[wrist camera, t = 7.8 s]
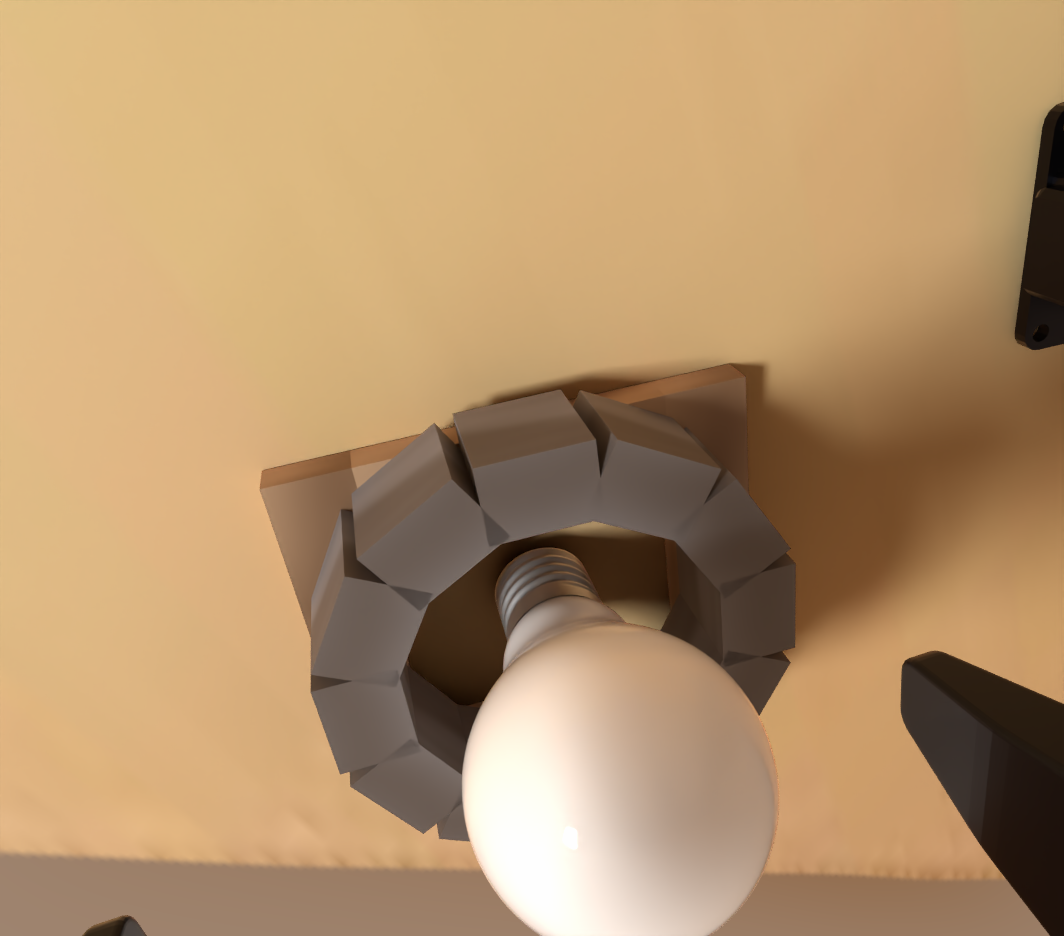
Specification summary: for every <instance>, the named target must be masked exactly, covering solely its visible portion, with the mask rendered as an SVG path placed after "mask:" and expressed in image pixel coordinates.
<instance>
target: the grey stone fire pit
mask: <svg viewBox="0 0 1064 936" xmlns="http://www.w3.org/2000/svg"><path fill="white" fill-rule="evenodd" d="M453 418H454V422H455V427H451V428H446V429H442V430H441V429H440V428H439V427H438V426H437V425H436V424H435V423H434V424H433V425H431V426H430V427H429V428H428V429H427V430H425V431H424V432H423V433H422V434H420V435H416V436H412V437H407V438H403V439H398V440H394V441H390V442H385V443H381V444H377V445H372V446H368V447H364V448H359V449H355V450H350V451H346V452H342V453H337V454H333V455H329V456H324V457H320V458H316V459H311V460H307V461H303V462H298V463H294V464H289V465H285V466H281V467H276V468H272V469H268V470H263V471H262V475H261V483H260V492H261V495H262V498H263V500H264V503H265V506H266V509H267V512H268V515H269V518H270V521H271V524H272V527H273V529H274V532H275V535H276V538H277V541H278V544H279V547H280V550H281V553H282V555H283V558H284V561H285V564H286V567H287V570H288V573H289V576H290V579H291V582H292V584H293V587H294V590H295V593H296V596H297V599H298V602H299V605H300V608H301V610H302V613H303V616H304V619H305V622H306V625H307V628H308V631H309V634H310V637H311V694H312V697H313V700H314V703H315V705H316V708H317V711H318V714H319V716H320V719H321V722H322V725H323V728H324V730H325V733H326V736H327V739H328V741H329V744H330V747H331V750H332V753H333V755H334V758H335V761H336V764H337V766H338V769H339V772H340V774H344V773H347V772H350V787H352V788H354V789H355V790H357V791H358V792H360V793H361V794H363V795H364V796H366V797H367V798H369V799H371V800H372V801H374V802H375V803H377V804H378V805H380V806H381V807H383V808H384V809H386V810H388V811H389V812H391V813H392V814H394V815H395V816H397V817H398V818H400V819H401V820H403V821H405V822H406V823H408V824H409V825H411V826H412V827H414V828H415V829H417V830H418V831H420V832H422V833H423V834H424V833H425V832H426V831H428V830H429V829H430V828H432V827H433V826H434V825H435V824H437V827H438V834H439V839H448V840H460V841H470V839H469V836H468V832H467V828H466V824H465V819H464V812H463V804H462V770H463V761H464V755H465V750H466V745H467V741H468V738H469V734H470V731H471V728H472V725H473V723H474V720H475V718H476V716H477V713H478V711H479V709H480V707H481V705H482V703H483V702H479V703H475V704H472V705H468V706H465V705H458V704H456V703H455V702H454V701H452V700H451V699H450V698H448V697H447V696H446V695H445V694H443V693H442V692H441V691H439V690H438V689H437V688H436V687H434V686H433V685H432V684H430V683H429V682H428V681H427V680H425V679H424V678H423V677H421V676H420V675H419V674H418V673H416V672H415V671H414V670H412V669H411V667H410V663H409V660H408V655H409V653H410V650H411V648H412V645H413V642H414V640H415V637H416V635H417V632H418V630H419V627H420V624H421V622H422V619H423V617H424V614H425V612H426V609H427V606H428V604H429V603H430V602H431V601H432V600H434V599H435V598H436V597H437V596H438V595H440V594H441V593H442V592H443V591H445V590H446V589H447V588H448V587H449V586H451V585H452V584H453V583H454V582H456V581H457V580H458V579H459V578H460V577H462V576H463V575H464V574H465V573H466V572H468V571H469V570H470V569H471V568H473V567H474V566H475V565H476V564H477V563H479V562H480V561H481V560H482V559H484V558H485V557H486V556H487V555H488V554H490V553H491V552H492V551H493V550H495V549H496V548H497V547H498V546H499V545H501V544H504V543H508V542H512V541H516V540H520V539H524V538H528V537H532V536H536V535H540V534H544V533H548V532H552V531H556V530H560V529H564V528H568V527H572V526H576V525H580V524H584V523H588V522H592V521H595V522H600V523H604V524H608V525H612V526H616V527H620V528H624V529H629V530H633V531H637V532H641V533H645V534H649V535H653V536H658V537H662V538H664V541H665V553H666V565H667V577H668V589H669V602H670V613H669V615H668V617H667V619H666V621H665V623H664V625H663V627H662V629H661V631H663V632H666V633H668V634H671V635H673V636H676V637H678V638H680V639H682V640H684V641H686V642H688V643H690V644H691V645H693V646H695V647H696V648H698V649H699V650H701V651H703V652H704V653H705V654H707V655H708V656H709V657H711V658H712V659H713V660H714V661H716V662H717V663H718V664H719V665H720V666H721V667H722V668H723V669H725V670H726V671H727V672H728V673H729V674H730V676H731V677H732V678H733V679H734V680H735V681H736V682H737V683H738V685H739V686H740V687H741V689H742V690H743V691H744V692H745V694H746V695H747V697H748V698H749V700H750V701H751V703H752V705H753V706H754V708H755V710H756V711H757V713H758V715H760V714H761V712H762V710H763V708H764V707H765V705H766V703H767V702H768V700H769V698H770V697H771V695H772V693H773V691H774V690H775V688H776V686H777V685H778V683H779V681H780V680H781V678H782V676H783V674H784V673H785V671H786V669H787V668H788V666H789V664H790V661H789V660H788V659H787V657H786V656H785V655H784V653H783V652H782V651H784V650H787V649H791V648H795V577H796V563H795V562H794V561H793V560H792V559H791V558H790V557H789V556H788V555H787V554H786V552H787V551H788V550H790V549H791V548H790V547H789V546H788V544H787V543H786V542H785V541H784V539H783V538H782V537H781V535H780V534H779V533H778V532H777V530H776V529H775V528H774V526H773V525H772V524H771V523H770V521H769V520H768V519H767V517H766V516H765V515H764V514H763V512H762V511H761V510H760V508H759V507H758V506H757V505H756V503H755V502H754V501H753V499H752V498H751V497H750V496H749V487H748V447H747V407H746V376H744V375H743V374H742V373H740V372H739V371H738V370H737V369H735V368H734V367H733V366H731V365H730V364H726V365H721V366H717V367H712V368H708V369H704V370H699V371H695V372H691V373H686V374H682V375H678V376H673V377H669V378H664V379H660V380H656V381H651V382H647V383H643V384H638V385H634V386H630V387H625V388H621V389H617V390H612V391H608V392H603V393H599V394H592V393H589V392H585V391H582V390H580V391H579V393H578V395H577V398H576V399H573V400H569V401H568V399H567V398H566V396H565V395H564V394H563V392H562V391H561V389H560V390H555V391H551V392H546V393H542V394H538V395H533V396H529V397H524V398H520V399H516V400H511V401H507V402H502V403H498V404H494V405H489V406H485V407H480V408H476V409H472V410H467V411H463V412H458V413H454V414H453Z"/></svg>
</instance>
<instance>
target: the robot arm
mask: <svg viewBox="0 0 1064 936" xmlns="http://www.w3.org/2000/svg"><path fill="white" fill-rule="evenodd" d="M1063 126H1064V102H1062V103H1060V104H1058V105H1056V106H1055V107H1054V108H1052V109H1051V110H1050V111H1049V113H1048V115H1047V116H1046V118H1045V120H1044V124H1043V128H1042V135H1041V142H1040V150H1039V157H1038V165H1037V172H1036V179H1035V187H1034V194H1033V201H1032V209H1031V216H1030V224H1029V231H1028V238H1027V246H1026V253H1025V261H1024V268H1023V275H1022V283H1021V290H1020V298H1019V305H1018V312H1017V320H1016V327H1015V339H1016V341H1017V343H1018V344H1020V345H1022V346H1025V347H1027V348H1029V349H1032V350H1039V349H1044V348H1048V347H1052V346H1056V345H1060V344H1064V131H1063ZM1037 327H1038V330H1037V332H1036V333H1035V334H1034V335H1033V333H1034V330H1035V329H1036V328H1037ZM901 714H902V718H903V721H904V724H905V726H906V728H907V730H908V731H909V733H910V735H911V736H912V738H913V739H914V741H915V743H916V744H917V746H918V747H919V749H920V751H921V752H922V754H923V755H924V757H925V759H926V760H927V762H928V763H929V765H930V767H931V768H932V770H933V771H934V773H935V775H936V776H937V778H938V779H939V781H940V782H941V784H942V786H943V787H944V789H945V790H946V792H947V794H948V795H949V797H950V798H951V800H952V802H953V803H954V805H955V806H956V808H957V810H958V811H959V813H960V814H961V816H962V818H963V819H964V821H965V822H966V824H967V826H968V827H969V829H970V830H971V832H972V833H973V835H974V836H975V838H976V839H977V841H978V842H979V844H980V845H981V846H982V848H983V849H984V851H985V852H986V853H987V855H988V856H989V857H990V859H991V860H992V861H993V863H994V864H995V865H996V867H997V868H998V869H999V871H1000V872H1001V873H1002V874H1003V876H1004V877H1005V878H1006V880H1007V881H1008V882H1009V883H1010V885H1011V886H1012V887H1013V889H1014V890H1015V891H1016V892H1017V894H1018V895H1019V896H1020V898H1021V899H1022V900H1023V902H1024V903H1025V904H1026V905H1027V906H1028V908H1029V909H1030V911H1031V912H1032V913H1033V914H1034V916H1035V917H1036V918H1037V920H1038V921H1039V922H1040V923H1041V925H1042V926H1043V927H1044V929H1045V930H1046V931H1047V932H1048V933H1049V935H1050V936H1064V704H1063V703H1060V702H1058V701H1056V700H1053V699H1051V698H1049V697H1046V696H1044V695H1042V694H1039V693H1037V692H1035V691H1032V690H1030V689H1028V688H1025V687H1023V686H1021V685H1018V684H1016V683H1014V682H1012V681H1009V680H1007V679H1005V678H1002V677H1000V676H998V675H995V674H993V673H991V672H988V671H986V670H984V669H981V668H979V667H977V666H974V665H972V664H970V663H967V662H965V661H963V660H960V659H958V658H956V657H954V656H951V655H949V654H947V653H944V652H940V651H930V652H927V653H924V654H921V655H918V656H915V657H911V658H909V659H907V660H905V662H904V664H903V665H902V677H901ZM82 936H147V935H146V934H145V933H144V931H143V930H142V928H141V927H140V925H139V924H138V922H137V921H136V920H135V919H134V918H133V917H131V916H128V915H125V916H120V917H117V918H114V919H111V920H108V921H105V922H102V923H99V924H96V925H94V926H92V927H91V928H89V929H88V930H87V931H86V932H85V933H84V934H83V935H82Z"/></svg>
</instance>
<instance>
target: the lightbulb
mask: <svg viewBox="0 0 1064 936" xmlns="http://www.w3.org/2000/svg"><path fill="white" fill-rule="evenodd" d="M495 601H496V605H497V608H498V611H499V615H500V618H501V621H502V625H503V628H504V631H505V635H506V638H507V645H506V649H505V653H504V660H503V673H502V674H501V676H500V677H499V678H498V680H497V681H496V682H495V684H494V685H493V687H492V688H491V690H490V691H489V693H488V694H487V696H486V698H485V700H484V701H483V703H482V705H481V707H480V709H479V711H478V713H477V716H476V718H475V720H474V723H473V725H472V728H471V731H470V734H469V738H468V741H467V745H466V750H465V755H464V761H463V770H462V804H463V812H464V819H465V824H466V828H467V832H468V836H469V839H470V842H471V845H472V848H473V851H474V853H475V856H476V858H477V860H478V862H479V865H480V867H481V869H482V871H483V872H484V874H485V876H486V878H487V879H488V881H489V883H490V884H491V886H492V887H493V889H494V890H495V892H496V893H497V895H498V896H499V897H500V899H501V900H502V901H503V902H504V903H505V905H506V906H507V907H508V908H509V909H510V910H511V911H512V912H513V913H514V914H515V915H516V916H517V917H518V918H519V919H520V920H521V921H522V922H523V923H525V924H526V925H527V926H528V927H529V928H531V929H532V930H533V931H535V932H536V933H538V934H539V935H541V936H710V935H711V934H713V933H714V932H716V931H717V930H718V929H719V928H720V927H722V926H723V925H724V924H725V923H726V922H727V921H728V920H730V919H731V917H732V916H733V915H734V914H735V913H736V912H737V911H738V910H739V909H740V908H741V906H742V905H743V904H744V903H745V901H746V900H747V899H748V897H749V896H750V895H751V893H752V892H753V890H754V888H755V887H756V885H757V883H758V881H759V879H760V877H761V876H762V874H763V871H764V869H765V867H766V865H767V862H768V859H769V857H770V854H771V851H772V847H773V844H774V839H775V835H776V830H777V824H778V815H779V784H778V775H777V769H776V763H775V759H774V755H773V751H772V747H771V744H770V741H769V738H768V736H767V733H766V730H765V728H764V726H763V723H762V721H761V719H760V717H759V715H758V713H757V711H756V710H755V708H754V706H753V705H752V703H751V701H750V700H749V698H748V697H747V695H746V694H745V692H744V691H743V690H742V689H741V687H740V686H739V685H738V683H737V682H736V681H735V680H734V679H733V678H732V677H731V676H730V674H729V673H728V672H727V671H726V670H725V669H723V668H722V667H721V666H720V665H719V664H718V663H717V662H716V661H714V660H713V659H712V658H711V657H709V656H708V655H707V654H705V653H704V652H703V651H701V650H699V649H698V648H696V647H695V646H693V645H691V644H690V643H688V642H686V641H684V640H682V639H680V638H678V637H676V636H673V635H671V634H668V633H666V632H663V631H660V630H657V629H653V628H650V627H646V626H641V625H636V624H630V623H626V622H625V621H624V620H623V619H622V618H621V617H620V616H619V615H618V614H617V613H616V612H615V611H613V610H612V609H611V608H609V607H607V606H606V605H604V604H603V603H602V601H601V599H600V598H599V596H598V593H597V591H596V589H595V588H594V585H593V583H592V581H591V580H590V577H589V575H588V573H587V571H586V569H585V567H584V566H583V564H582V563H581V561H580V560H579V559H578V558H577V557H575V556H574V555H573V554H571V553H569V552H567V551H565V550H562V549H558V548H538V549H534V550H530V551H528V552H525V553H523V554H521V555H519V556H518V557H516V558H515V559H513V560H512V561H511V562H510V563H509V564H508V565H507V566H506V567H505V568H504V570H503V571H502V572H501V574H500V576H499V578H498V580H497V583H496V587H495Z"/></svg>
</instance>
